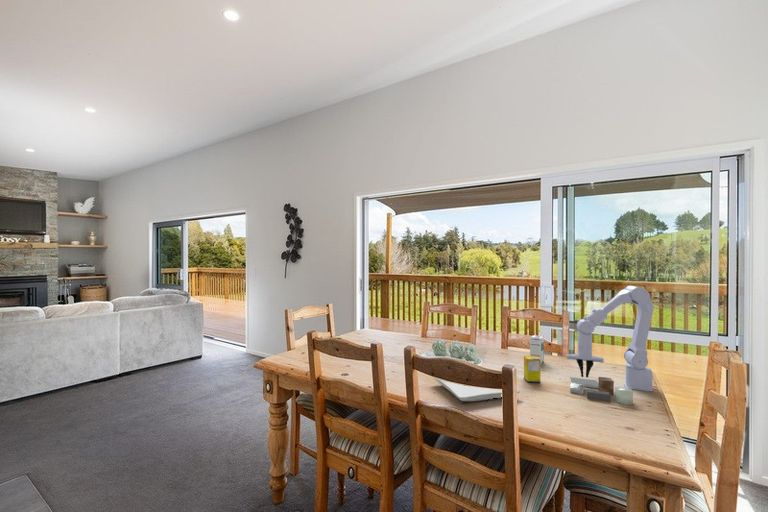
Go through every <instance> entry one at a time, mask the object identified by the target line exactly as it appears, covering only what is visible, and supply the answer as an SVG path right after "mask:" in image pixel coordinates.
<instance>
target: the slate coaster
mask: <svg viewBox="0 0 768 512" xmlns="http://www.w3.org/2000/svg"><path fill="white" fill-rule="evenodd" d="M569 379H571V380H570V384H571V383H576V384H582V385H584V388H586V387H587V388H588V389H593V390H594V389H595V390H598V380H597V379H596V380H595V379H591V378H590V379H589V378H588V379H587V378H582V377H579V378H578V377H571V376H570V377H569ZM587 388H586V389H587Z"/></svg>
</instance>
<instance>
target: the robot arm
mask: <svg viewBox="0 0 768 512" xmlns="http://www.w3.org/2000/svg"><path fill="white" fill-rule="evenodd" d="M627 303H633V304H634V305H635V306H636V307H637V314H636V317H635V319H636V320H635V322H634V323H635V324H634V328H633V333H632V337H631V341H630V343H629V345H628V346H627V349H626V350H625V351H624V353H623V359H624V360H625V361H626V363H625V381H623V382H622V383H623V385H624V387H626V388H629V389H632V390H635V391H644V392H645V391H646V392H654V391H653V372H652V371H653V370H652V369H651V368H649V367H647V366H648V365H649V360H648V350H647V348H646V346H647V341H648V338H649V332H650V328H651V323H652V319H653V315H654V310H655V307H654V304H653V301H652V299H651V293H649V292H648V290H647V289H645V288H644V287H642V286H641V287H640V286H635V285H627V286H626V287H625V288H624V289H621V290H620V291H619V292H618V293H617V294H616V295H614V296H613V297H612V298H611V299H610V300H609V301H608V302H607V303H606V304H605V305H604V306H602V307H596V308H593V309H591V312H590V313H589V314H588V315H586V316H583V319H579V320H578V321H577V322H576V324H575V327H576V329H577V354H568V353H567V354H566V360H575V361H576V363H577V364H578V368H579V371H580V375H581V377H580V378H584V361H585V366H586V369H585V377H586V378H585V379H587V378H588V379H589V375H590V372H591V369H592V367H593V366H594V362H595V363H600V364H601V363H602V364H603V363H604V362H605V361H604V357H601V356H595V355H593V333H594V331H595V328H596V327H598V326H599V325H600V324H601V323H603V322H604V321H605V320H606V319H608V314H609V313H611V312H612V311H614V310H615V309H616V308H618V307H619V306H621V305H623V304H627Z"/></svg>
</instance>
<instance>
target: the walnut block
mask: <svg viewBox="0 0 768 512" xmlns="http://www.w3.org/2000/svg"><path fill="white" fill-rule="evenodd" d="M597 382H598V389H597V391H603V392H609V394H610V396H615V387H614V384H615V382H614V379H612V378H611V377H608V376H607V377H605V376H598V380H597Z"/></svg>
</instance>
